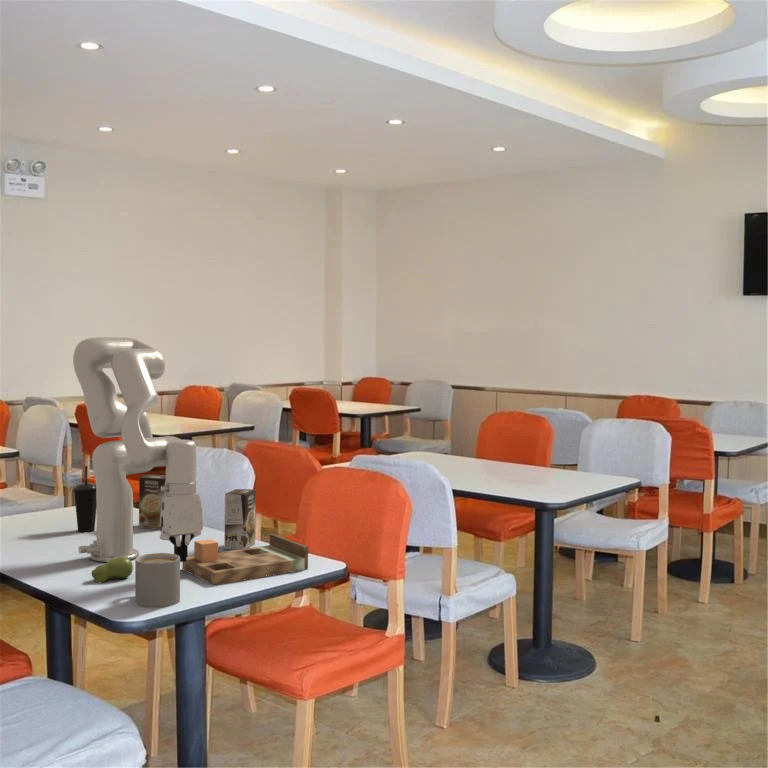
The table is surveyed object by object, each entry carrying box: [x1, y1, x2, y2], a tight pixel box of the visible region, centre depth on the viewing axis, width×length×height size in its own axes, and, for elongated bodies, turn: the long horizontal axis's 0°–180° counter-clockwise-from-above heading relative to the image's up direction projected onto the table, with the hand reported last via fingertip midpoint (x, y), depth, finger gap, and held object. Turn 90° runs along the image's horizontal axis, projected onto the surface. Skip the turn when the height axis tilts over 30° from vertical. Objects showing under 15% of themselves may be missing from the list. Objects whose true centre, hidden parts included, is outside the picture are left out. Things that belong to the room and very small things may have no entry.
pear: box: [91, 557, 134, 583], centre depth 230 cm, size 6×5×10 cm
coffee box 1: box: [138, 473, 166, 530], centre depth 290 cm, size 9×6×16 cm
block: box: [193, 538, 219, 562], centre depth 239 cm, size 4×4×4 cm
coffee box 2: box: [223, 488, 257, 551], centre depth 266 cm, size 9×6×16 cm
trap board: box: [181, 533, 309, 586], centre depth 241 cm, size 27×18×6 cm, turn 127°
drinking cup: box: [72, 465, 97, 534], centre depth 283 cm, size 8×8×20 cm
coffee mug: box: [134, 552, 181, 608], centre depth 213 cm, size 13×10×10 cm
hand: (180, 560), depth 235 cm, fingers closed
